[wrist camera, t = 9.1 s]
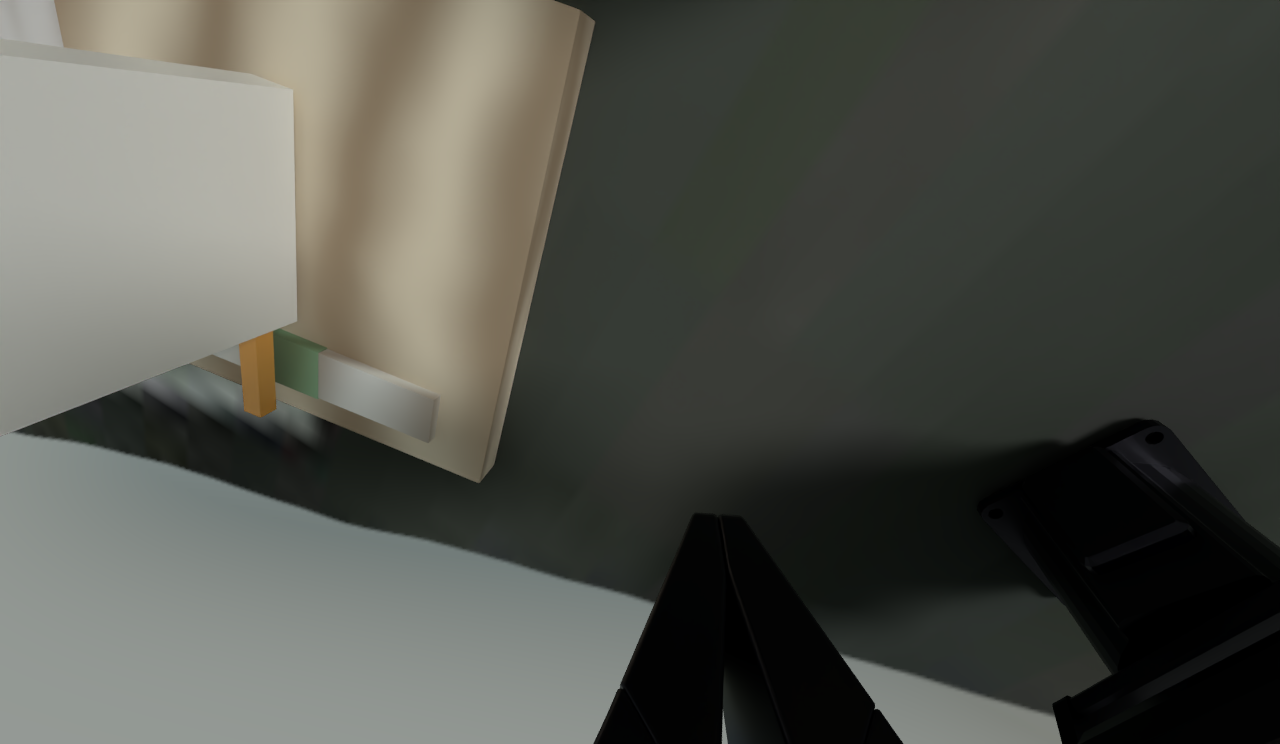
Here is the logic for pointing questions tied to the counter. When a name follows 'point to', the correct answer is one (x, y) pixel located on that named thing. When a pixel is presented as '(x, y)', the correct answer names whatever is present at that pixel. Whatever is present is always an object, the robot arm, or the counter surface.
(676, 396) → the counter surface
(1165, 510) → the robot arm
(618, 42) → the counter surface
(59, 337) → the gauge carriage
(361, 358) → the gauge frame
